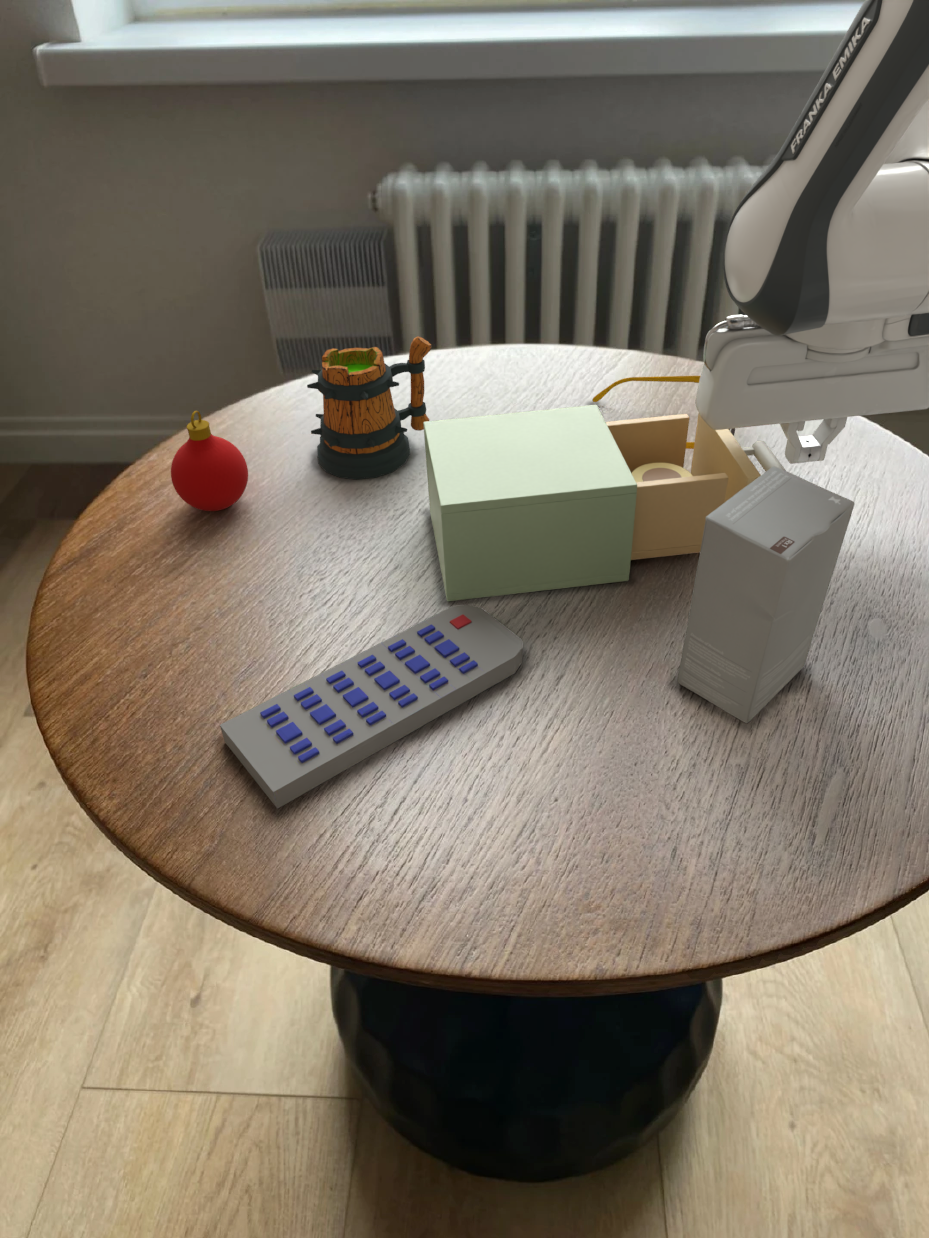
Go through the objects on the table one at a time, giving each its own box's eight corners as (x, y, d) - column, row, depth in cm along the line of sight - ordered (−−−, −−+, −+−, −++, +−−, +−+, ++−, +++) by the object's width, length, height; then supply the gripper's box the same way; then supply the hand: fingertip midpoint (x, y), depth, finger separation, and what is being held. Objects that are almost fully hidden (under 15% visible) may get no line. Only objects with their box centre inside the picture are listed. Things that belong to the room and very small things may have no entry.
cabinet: (591, 495, 92) (596, 404, 86) (629, 581, 82) (637, 484, 76) (429, 512, 91) (423, 421, 85) (446, 602, 81) (440, 505, 75)
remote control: (224, 742, 70) (218, 721, 68) (472, 612, 80) (470, 592, 78) (277, 810, 65) (271, 789, 63) (534, 663, 75) (534, 641, 73)
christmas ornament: (200, 482, 97) (177, 391, 90) (265, 488, 95) (246, 396, 89) (167, 521, 92) (140, 428, 85) (236, 529, 90) (214, 434, 84)
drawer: (745, 474, 92) (758, 400, 87) (796, 549, 83) (813, 471, 78) (552, 494, 91) (553, 420, 86) (581, 573, 82) (585, 495, 77)
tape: (679, 492, 88) (683, 458, 86) (698, 526, 84) (703, 491, 82) (620, 498, 88) (623, 465, 86) (636, 533, 84) (639, 498, 82)
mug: (326, 489, 95) (310, 381, 87) (306, 441, 102) (289, 337, 95) (452, 463, 98) (446, 356, 90) (423, 418, 105) (415, 315, 98)
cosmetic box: (734, 631, 77) (766, 457, 66) (815, 674, 72) (863, 495, 62) (669, 685, 72) (694, 508, 62) (752, 734, 68) (793, 552, 58)
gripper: (721, 334, 73) (699, 490, 82) (980, 310, 74) (930, 466, 83) (695, 302, 77) (677, 452, 86) (939, 280, 79) (896, 430, 88)
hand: (803, 459), depth 85 cm, fingers closed
